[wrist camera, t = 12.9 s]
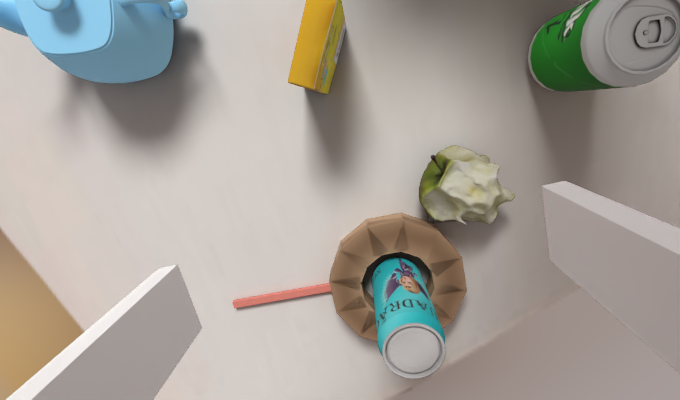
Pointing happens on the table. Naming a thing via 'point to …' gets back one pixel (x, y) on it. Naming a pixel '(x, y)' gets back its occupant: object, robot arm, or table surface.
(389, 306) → the beverage can
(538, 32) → the soda can
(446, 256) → the tan flat ring
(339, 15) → the crayon box
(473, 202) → the fruit
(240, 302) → the stick
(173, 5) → the teapot
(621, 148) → the table surface
